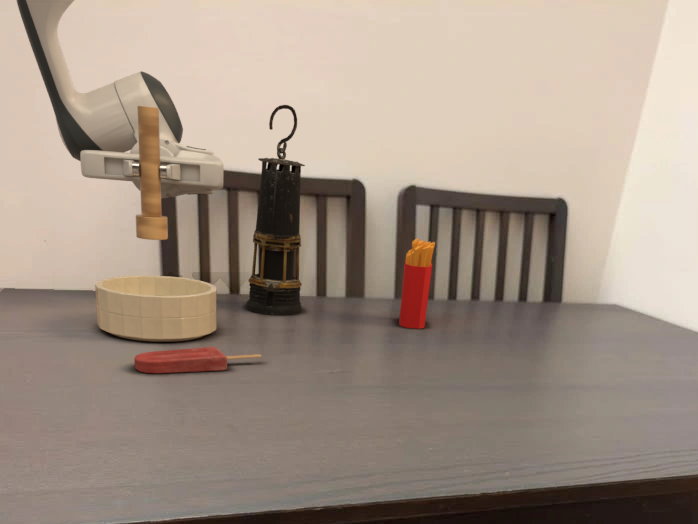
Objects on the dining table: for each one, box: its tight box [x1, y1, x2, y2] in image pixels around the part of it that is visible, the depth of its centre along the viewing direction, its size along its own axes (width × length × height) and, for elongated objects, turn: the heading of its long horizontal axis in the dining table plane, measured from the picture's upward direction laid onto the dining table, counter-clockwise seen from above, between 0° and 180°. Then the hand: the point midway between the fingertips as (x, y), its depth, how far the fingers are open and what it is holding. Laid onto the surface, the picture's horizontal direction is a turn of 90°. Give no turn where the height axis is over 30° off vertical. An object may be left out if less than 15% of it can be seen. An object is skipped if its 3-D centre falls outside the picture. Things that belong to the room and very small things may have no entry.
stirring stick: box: [135, 106, 169, 241], centre depth 102 cm, size 4×4×17 cm
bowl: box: [94, 274, 218, 343], centre depth 99 cm, size 16×16×6 cm
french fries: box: [398, 237, 436, 330], centre depth 115 cm, size 9×4×13 cm, turn 177°
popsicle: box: [133, 346, 263, 374], centre depth 85 cm, size 4×2×15 cm
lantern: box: [245, 104, 306, 316], centre depth 113 cm, size 9×9×30 cm
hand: (149, 170), depth 101 cm, fingers closed on stirring stick, 3 cm apart
